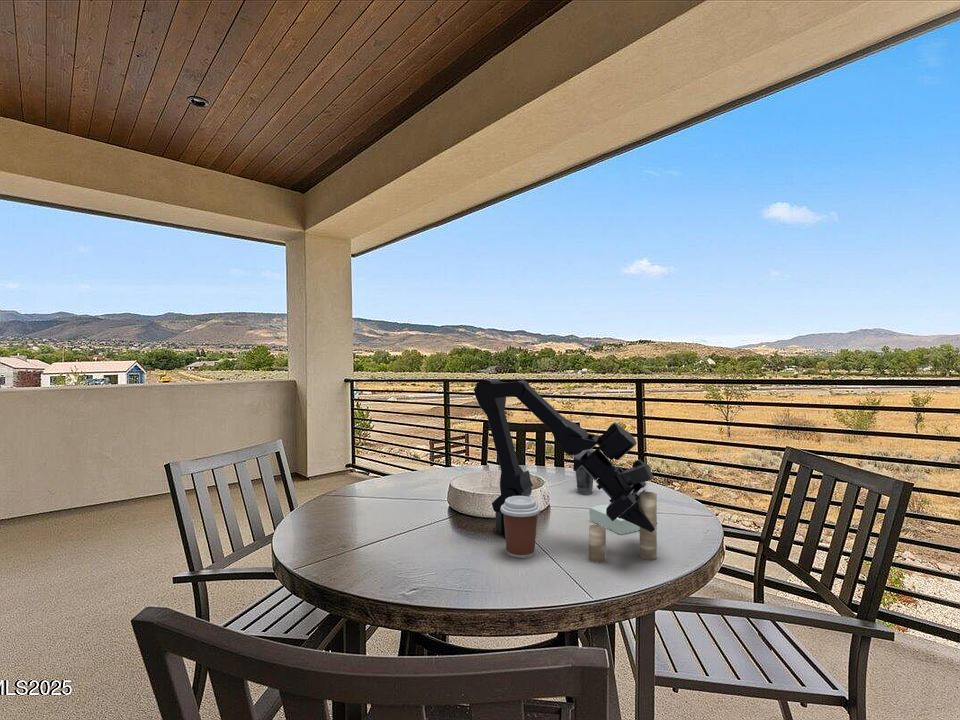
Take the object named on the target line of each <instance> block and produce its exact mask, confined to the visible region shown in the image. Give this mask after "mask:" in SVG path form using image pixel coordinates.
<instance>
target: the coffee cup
mask: <svg viewBox="0 0 960 720" xmlns="http://www.w3.org/2000/svg"><path fill="white" fill-rule="evenodd" d="M536 501H537V500H536V499H535V498H534V497H532V496H529V497H528V496H512V497H508V498H506V499H505V503H504V504H503V505H502V506H501V508H500V511H501V512H502V513H503V515H504V527H505V538H504V539H505V549H506V554H507V555H508V556H509V557H511V558H515V559H516V558H517V559H528V558H532V557H533V556H534V555H535V553H536V551H535V550H536V538H537V537H536V536H537V535H536V534H537V525H538V524H537V523H538V515H539V514H540V513H541V506H540V505H538V503H537V502H536Z"/></svg>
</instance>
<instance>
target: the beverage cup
mask: <svg viewBox="0 0 960 720" xmlns="http://www.w3.org/2000/svg"><path fill="white" fill-rule="evenodd" d="M587 451H591V452H594V451H595V449H593V448H591V449H589V450H584V451H582V452H581V453H579V454H577V455H573V459H574V458H576V457H577V458H580V457H581V456H582V455H584V454H585V453H586V452H587ZM575 478H576V487H577V488H576V489H577V494H578V493H579V495H581V494H582V495H583V496H590V495H589V494H591V495H592V494H593V487H594V479H593V478H592V477H591V476H590V475H589V474H588V473H587V471H586V470H585V469H584V468H583V467H582V466H581V467H580V468H579V469H578V470H576V471H575ZM582 495H581V496H582Z"/></svg>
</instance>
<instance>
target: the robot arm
mask: <svg viewBox="0 0 960 720" xmlns="http://www.w3.org/2000/svg"><path fill="white" fill-rule="evenodd" d="M473 394H474V397H475V399H476V401H477V402H478V406H479V408H480V409H481V410H482V411H483V413H484V414H485V415H486V418H487V420H488V421H487V422H488V425H489V429H490V432H491V436H492V441H493V444H494V448H495V452H496V455H497V459H498V462H499V463H498V464H499V467H500V478H499V487H500V488H499V489H500V491H499V492H500V495H499V496H498V497H497V498H495V499H494V501H492V503H491V506H492V510H493V511H494V512H495V527H494V528H492V531H493V532H494V533H496V534H497V535H499V536H500V537H502V538H503V539H505V527H504V515H503V513H502V512H501V511H500V508H501V506H502V505H503V504H504V503H505V499H506V498H508V497H512V496H528V497H531V494H532V490H533V489H532V488H533V487H534V483H533V482H532V480H531V473H530V471H529V470H526V471H524V470H523V469H522V467H521V466H520V464H519V460H518V457H517V454H516V449H515V446H514V441H513V438H512V435H511V429H510V427H509V423H508V418H507V415H506V404H507V403H506V402H507V398H510V397H512V398H513V397H515V398H516V399H518V400H519V401H520V402H521V403H522V404H523V405H524V406H525V407H526V408H527V409H528V410H529V411H530V413H532V414H533V415H534V416H535V417H536V418H537V419H538V420H539V421H540V422H542V423H543V425H545V426H546V427H547V428H548V430H549V431H550V432H551V434H552V436H553V438H554V440H555V442H556V443H557V445H558V446H559V447H560V448H561V450H562V451H563V452H564V453H565V454H566V455H568V456H574V455H577V454H579V453H581V452H582V451H584V450H589V449H591V448H592V449H593V448H594V447H595V446H598V447H596V449H594V452H591V451H587V452H586V453H585V454H584V455H582V456H581V457H580V458H577V457H576V458H574V457H573V459H572V461H573V465H572V466H573V467H572V470H573V472H576V470H578V469H579V468H580V467H581V466H582V467H583V468H584V469H585V470H586V471H587V473H588V474H589V475H590V476H591V477H592V478H593V481H595V483H596V484H597V485H596V486H595V487H596V488H597V489H598V491H600V490H601V489H602V491H603V492H604V493H605V494H606V495H607V496H608V497H609V498H610V499H609V503H608V504H609V506H608V507H607V508H606V515H607V516H608V517H609V518H610V519H611V520H612V521H614V520H615V519H616V518H617V517H618V518H619V519H620V518H621V519H624V520H626V521H628V522H631V523H633V524H635V525H637V526H639V527H641V528H643V529H646V530H648V531H650V532H653V531H654V530H655V528H654V526H653V525H652V523H651V522H650V520H649V519H648V518H647V516H646V515H645V513H644V512H643V511H642V509H641V507H640V492H646V489H643V488H645V487H646V485H647V483H646V482H648V481H650V480H652V477H653V476H654V475H653V473H652V471H651V466H650V465H649V464H648V463H647V462H643V460H641V459H640V458H639V459H637V460H635V461H633V462H632V467H630V468H627V469H625V470H624V469H623V468H622V467H621V466H617V467H616V466H615V464H614V463H613V462H611V461H612V460H616V461H619V460H620V459H622V458H623V457H624V456H625V455H626V454H627V453H628V452H630V451H631V450H632V449H634V447H635V446H636V445H637V444H638V443H637V440H636V438H634V436H633V435H632V434H631V433H630V431H628V430H626V429H625V428H624V427H622V426H620V425H619V424H618V423H617V422H613V423H612V424H610V426H609V427H608V428H607V429H606V431H604V432H603V433H602V434H601V435H598V434H597V435H596V434H593V433H589V432H588V431H587V430H586V429H584V428H583V427H581V426H580V425H579V424H576V423H575V422H574V421H571V420H569V419H567V418H566V417H565V416H563V415H562V414H561V413H559V412H558V410H556V409H555V408H554V407H553V406H552V404H550V403H549V402H548V401H547V400H545V399H544V397H543V396H541V395H540V394H539V393H538V392H537V391H536V390H535V389H534V388H533V387H532V386H531V384H529V382H528V381H526V380H523V379H522V380H516V381H504V382H503V381H501V380H499V379H497V378H489V379H482V380H479V381H478V382H477V383H476V385H475V386H474V388H473ZM642 489H643V490H642ZM640 490H642V491H640Z"/></svg>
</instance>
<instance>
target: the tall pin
mask: <svg viewBox="0 0 960 720" xmlns="http://www.w3.org/2000/svg"><path fill="white" fill-rule="evenodd" d="M639 492H640V507H641V509H642V511H643V512H644V513H645V515H646V516H647V518H648V519H649V520H650V522H651V523H652V525H653V526H654V528H655V530H654V531H653V532H650V531H648V530H646V529H643V528H641V527H640V531H639V557H640V558H642V559H644V560H649V561H652V560H653V561H654V560H656V559H657V558H658V552H657V550H658V548H657V547H658V542H657V541H658V538H657V537H658V536H657V535H658V533H657V532H658V531H657V530H658V527H657V525H658V517H657V516H658V515H657V513H658V510H657V509H658V505H657V502H658V500H657V498H658V496H657V495H658V494H657V493H656V492H652V491H645V492H642V491H639Z"/></svg>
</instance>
